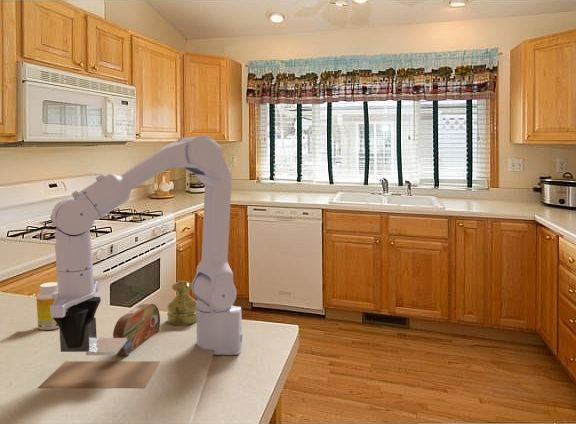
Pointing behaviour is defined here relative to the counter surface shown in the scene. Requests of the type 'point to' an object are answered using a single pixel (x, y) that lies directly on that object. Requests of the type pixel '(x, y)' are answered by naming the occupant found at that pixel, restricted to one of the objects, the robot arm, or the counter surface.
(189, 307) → the green vase
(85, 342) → the grey pillar on tile
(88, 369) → the board
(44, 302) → the supplement bottle
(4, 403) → the counter surface
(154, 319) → the tin
